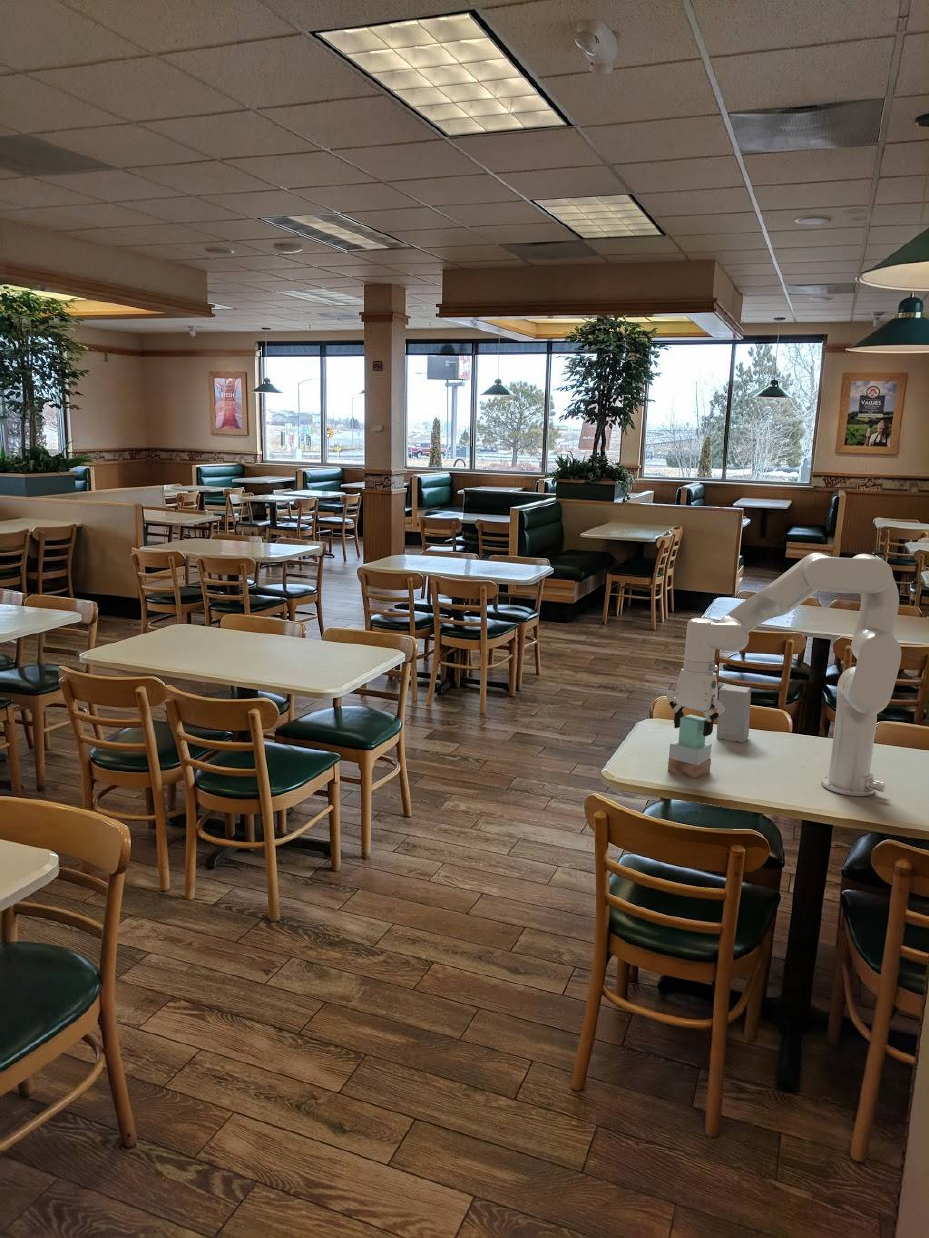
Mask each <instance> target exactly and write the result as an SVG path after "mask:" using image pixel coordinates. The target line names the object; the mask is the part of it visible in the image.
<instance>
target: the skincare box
mask: <svg viewBox="0 0 929 1238" xmlns="http://www.w3.org/2000/svg"><path fill="white" fill-rule="evenodd" d="M751 696H752V687H749V686H739V685H738V686H737V685H733V684H731V685H730V684H723V685H722V686H721V687H720V688H719V689H718V701H719V702H720V703H721V704H722V705H723V706H724V707H725V711H724V712H723V713H722V714H721V715H720V716H719V717H718V718H717V719H716V720H717V725H716V739H717V738H719V739H718V740H723V739H724V741H728V742H729V741H730V742H736V741H738V742H737V743H743V744H744V742H745V741H746V740H747V739H748V738H749V733H750V720H751V719H750V717H751V716H750V715H751Z"/></svg>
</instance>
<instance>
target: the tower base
mask: <svg viewBox="0 0 929 1238" xmlns="http://www.w3.org/2000/svg"><path fill="white" fill-rule="evenodd" d="M667 763H668V764H667V772H669V771H671V772H670V773H673V774H676V775H679V776H682V777H686V778H690V779H691V780H692V779H693V780H696V779H698V778H701V777H703V776H705V775H707V774H710V772H711V763H712V759H711V758H710V759H708V760H706V761H704V762H703V763H701V764H699V765H693V764H690V763H686V762H682V761H678V760H674V759H671V758H669V757H668V762H667Z"/></svg>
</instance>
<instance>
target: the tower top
mask: <svg viewBox="0 0 929 1238" xmlns="http://www.w3.org/2000/svg"><path fill="white" fill-rule="evenodd" d="M678 741H679V738H678V739H676V740H674V741H672V742H670V743H669V752H668V753H669V754H668V759H669V758H671V759H674V760H678V761H682V762H686V763H690V764H693V765H699V764H701V763H703V762H704V761H706V760H708V759H711V753H712V743H709V742H706V741H705V744H704V745H702V746H699V747H697V748H693V747H689V746H686V745H682V744H678Z"/></svg>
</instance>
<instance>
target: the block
mask: <svg viewBox="0 0 929 1238" xmlns="http://www.w3.org/2000/svg"><path fill="white" fill-rule="evenodd" d="M705 721H706V718H705V717H702V716H698V715H694V714H688V715H687V714H686V715H685V716H684V717H681V718H680V727H679V731H678V739H679V741H678V744H682V745H686V746H689V747H693V748H697V747H699V746H702V745H704V744H705V742H706V737H707V736H704V735H703V730H704V722H705Z"/></svg>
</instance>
